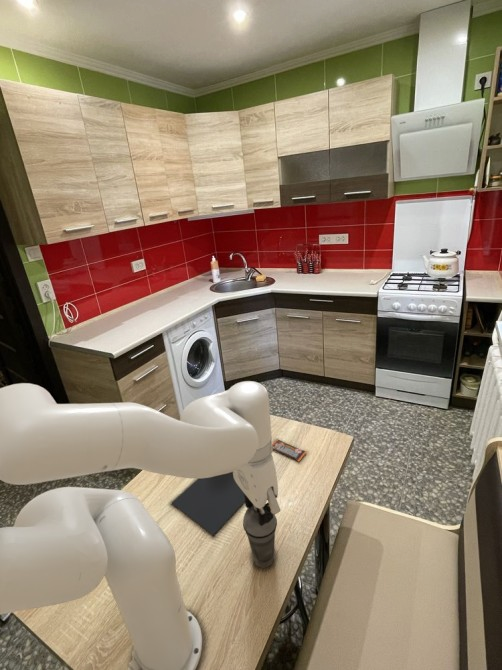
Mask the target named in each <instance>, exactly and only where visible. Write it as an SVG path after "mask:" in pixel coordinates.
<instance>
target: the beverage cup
mask: <svg viewBox="0 0 502 670" xmlns="http://www.w3.org/2000/svg"><path fill="white" fill-rule="evenodd" d="M258 510H259V508H257V507H256V506H254V505H252V506H251V507H250V508H247V509H246V510H245V513H244V515H243V522H242V527H243V530H244V532H245V534H246V536H247V538H248V543H249V547H250V552H251V555H252V558H253V561H254V564H255V565H256V566H257V567H259V568H263V569H265V568H269V567H270V566H271V565H272V564H273V561H274V557H275V542H276V539H275V538H276V531H277V526H278V519H277V517H276V514H273V519H272V520H271V521H270V522H268V523H265V524H264V525H262V526H260V524H259V518H258Z"/></svg>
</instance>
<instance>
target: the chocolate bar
mask: <svg viewBox="0 0 502 670" xmlns="http://www.w3.org/2000/svg"><path fill="white" fill-rule="evenodd" d="M272 448H273V451H276V452H278V453H280V454H282V455H285V456H287V457H289V458H291V459H294V460H295V461H297V462H300V461H301V460H302V458H303V457H304V456H305V455H306V453H307V452H308V451H307V450H304V449H301V448H298V447H296V446H293V445H292V444H290V443H287V442H284V441H282V440H280V439H279V438H276V439H275V440H274V442H272Z"/></svg>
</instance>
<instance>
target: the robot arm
mask: <svg viewBox="0 0 502 670" xmlns="http://www.w3.org/2000/svg"><path fill="white" fill-rule="evenodd" d="M179 418H180V419H176V418H174V417H172V416H169V415H167V414H165V413H163V412H161V411H159V410H157V409H154V408H152V407H150V406H147V405H144V404H141V403H137V402H131V401H126V402H125V401H124V402H99V403H98V402H97V403H96V402H95V403H93V402H92V403H57V402H56V400H55V399H54V397H53V396H52V395H51V393H50V392H49V391H48V390H47V389H46V388H44V387H42V386H40V385H38V384H34V383H30V382H28V383H27V382H20V383H13V384H10V385H6V386H3V387H1V388H0V481H2V482H4V483H6V484H9V485H16V486H22V485H24V486H25V485H33V484H41V483H46V482H50V481H51V482H52V481H57V480H63V479H70V478H76V477H82V476H88V475H94V474H98V473H104V472H113V471H118V470H119V471H120V470H124V469H137V470H142V471H144V472H149V473H153V474H158V475H164V476H165V475H166V476H171V477H176V478H183V479H194V480H195V479H196V480H197V479H199V478H209V477H214V476H218V475H222V474H226V473H230V472H233V477H234V480H235V482H236V483H237V484H238V486H239V487H240V488H241V490H242V491H243V492H244V498H245V502H244V504H245V505H244V506H245V507H246V508H247V509H248V508H250V507H251V506H252V505H254V506H256V507H257V508H259V510H258V518H259V524H260V526H262V525H264V524H265V523H268V522H270V521H271V520H272V519H273V514H275V515H277V514H279V513H280V512H281V507H280V505H279V502H278V500H277V498H278V497H279V484H278V477H277V476H278V475H277V471H276V466H275V461H274V457H273V451H274V449H273V448H272V444H273V437H272V423H271V410H270V397H269V392H268V390H267V388H266V387H265V386H264V385H263V384H262V383H260V382H257V381H252V380H244V381H240V382H237V383H235V384H234V385H231V386H230V388H228V389H227V390H224V391H220V392H216V393H213V394H209V395H206V396H202V397H200V398H196V399H194V400H192V401H190V403H188V404H187V405H186V406H185V408H184V409H183V410H182V412H181V414H180V417H179ZM162 529H163V528H161V526H160V525H159V524H158V522H157V521H156V519H154V517H153V516H152V514H151V513H150V512H149V510H148V509H147V508H146V507H145V505H144V504H143V502H142V501H141V500H140V499H139V498H138V497H137V496H136V495H135V494H134V493H132V492H130V491H126V490H121V489H109V488H107V489H106V488H96V487H95V488H94V487H81V486H62V487H56V488H53V489H49V490H47V491H44V492H42V493H40V494H38V495H37V496H35V497H34V498H32V499H31V500H29V501H28V502H27V503H26V504H25V505H24V506H23V507H22V509H21V510H20V511H19V512H18V514H17V516H16V519H15V521H14V523H13V526H3V527H0V615H4V614H11V613H15V612H21V611H27V610H33V609H38V608H39V609H40V608H44V607H50V606H55V605H57V606H58V605H61V604H66V603H70V602H73V601H76V600H79V599H83V598H84V597H86V596H87V595H89V594H91V593H92V592H94V591H95V589H97V588H98V587H99V585H100V584H101V582H102V580H103V579H104V578H105V580H106V583H107V585H108V587H109V589H110V591H111V593H112V594H111V595H112V597H113V598H114V601H115V603H116V606H117V608H118V611H119V614H120V616H121V619H122V621H123V624H124V625H125V628H126V631H127V633H128V635H129V637H130V638H129V639H130V640H131V643H132V645H133V650H132V651H131V657H132V659H131V660H130V662H129V663H128V666H129V667H128V668H127V669H126V670H196V669H197V667H198V665H199V662H200V659H201V656H202V651H203V635H202V630H201V626H200V624H199V621H198V620H197V618H196V617H195V615H193V614H192V612H190V611H189V610H187V607H186V603H185V600H184V597H183V593H182V590H181V589H182V588H181V586H180V583H179V578H178V575H177V569H176V568H177V558H176V553H175V549H174V547H173V545H172V543H171V540H170V539H169V538H168V536H167V535H166V533H165V532H164V531H163V530H162Z"/></svg>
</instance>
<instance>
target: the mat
mask: <svg viewBox="0 0 502 670" xmlns="http://www.w3.org/2000/svg"><path fill="white" fill-rule="evenodd" d="M244 504H245V498H244V492H243V491H242V490H241V488H240V487H239V486H238V484H237V483H236V482H235V480H234V477H233V472H230V473H226V474H222V475H218V476H214V477H209V478H199V479H196V480H195V481H194V482H193V483H192V484H191V485H190V486H188V487H187V488H186V489H185V490H184V491H182V493H180V494H179V495H178V496H177V497H176V498H175V499H173V501H171V505H173V506H174V507H175V508H177V510H179V511H180V512H182V513H183V514H184V515H185V516H187V517H188V518H189V519H190V520H192V521H193V522H195V523H196V524H197V525H198V526H200V527H201V528H202V529H203V530H205V531H206V532H208V533H209V534H210V535H211V536H212V537H214V536H215V535H216V534H217V533H218V532H219V531H220V530H221V529H222V528H223V527H224V525H225V524H227V522H228V521H229V520H230V519H231V518H232V517H233V516H234V515H235V514H236V512H237V511H238V510H239V509H240V508H241V507H242V506H243V505H244Z"/></svg>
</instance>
